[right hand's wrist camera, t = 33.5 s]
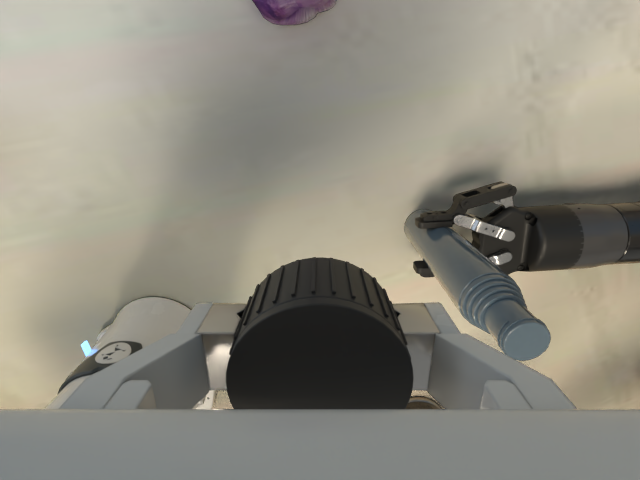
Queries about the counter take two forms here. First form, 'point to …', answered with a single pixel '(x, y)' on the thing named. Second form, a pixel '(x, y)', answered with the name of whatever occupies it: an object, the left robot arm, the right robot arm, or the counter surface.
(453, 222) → the left robot arm
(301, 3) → the figurine
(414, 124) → the counter surface
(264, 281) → the cap
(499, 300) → the bottle
